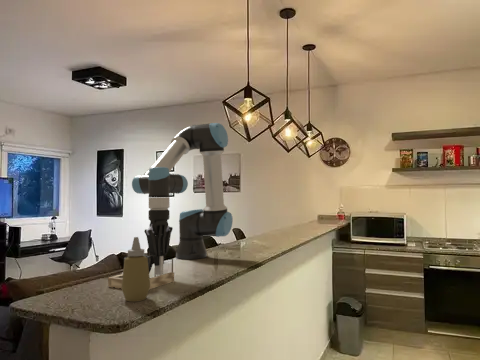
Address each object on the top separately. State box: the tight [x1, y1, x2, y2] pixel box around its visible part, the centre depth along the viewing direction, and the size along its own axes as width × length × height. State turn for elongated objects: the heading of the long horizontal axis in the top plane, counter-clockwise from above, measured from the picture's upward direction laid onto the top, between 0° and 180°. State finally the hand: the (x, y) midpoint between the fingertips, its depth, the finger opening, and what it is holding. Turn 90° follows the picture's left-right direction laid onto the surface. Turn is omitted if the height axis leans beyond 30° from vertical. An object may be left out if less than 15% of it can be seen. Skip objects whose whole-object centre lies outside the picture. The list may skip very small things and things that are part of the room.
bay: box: [107, 271, 175, 290], centre depth 125 cm, size 16×15×3 cm
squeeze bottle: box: [121, 236, 150, 303], centre depth 106 cm, size 8×8×18 cm
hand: (159, 274), depth 132 cm, fingers closed
